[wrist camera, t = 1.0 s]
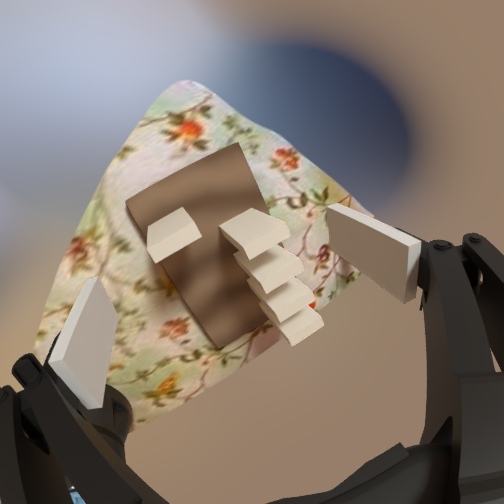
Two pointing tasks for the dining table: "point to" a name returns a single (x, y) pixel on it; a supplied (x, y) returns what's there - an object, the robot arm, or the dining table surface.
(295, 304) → the domino
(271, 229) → the domino
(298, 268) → the domino
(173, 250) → the domino
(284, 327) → the domino
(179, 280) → the walnut board
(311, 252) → the dining table surface
